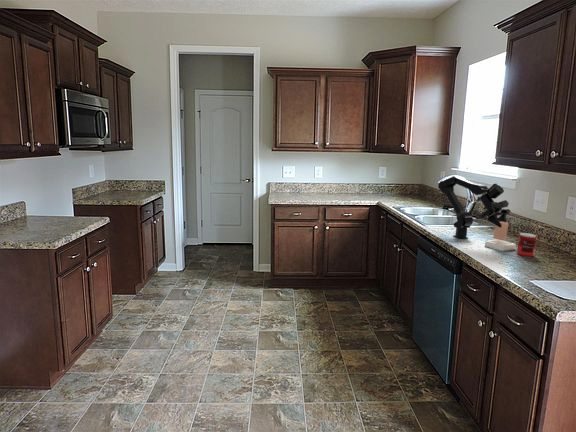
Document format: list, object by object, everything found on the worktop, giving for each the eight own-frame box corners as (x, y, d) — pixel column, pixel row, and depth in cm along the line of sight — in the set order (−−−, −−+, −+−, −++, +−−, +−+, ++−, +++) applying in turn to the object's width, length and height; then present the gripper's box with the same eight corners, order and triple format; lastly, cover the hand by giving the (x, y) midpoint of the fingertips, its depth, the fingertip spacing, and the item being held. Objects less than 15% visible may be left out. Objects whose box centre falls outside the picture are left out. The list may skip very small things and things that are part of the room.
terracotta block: (493, 238, 233) (495, 221, 231) (498, 237, 235) (501, 221, 233) (500, 240, 229) (503, 223, 227) (505, 239, 231) (508, 222, 229)
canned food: (524, 252, 227) (527, 232, 225) (536, 256, 219) (540, 236, 217) (513, 253, 224) (516, 233, 222) (525, 257, 217) (528, 236, 215)
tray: (484, 246, 236) (485, 241, 235) (496, 244, 242) (497, 239, 241) (503, 251, 227) (504, 245, 226) (514, 249, 232) (515, 244, 232)
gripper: (488, 195, 227) (503, 219, 219) (510, 194, 235) (525, 217, 228) (473, 207, 235) (488, 230, 228) (495, 206, 244) (510, 228, 236)
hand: (503, 226), depth 230 cm, fingers closed on terracotta block, 4 cm apart
